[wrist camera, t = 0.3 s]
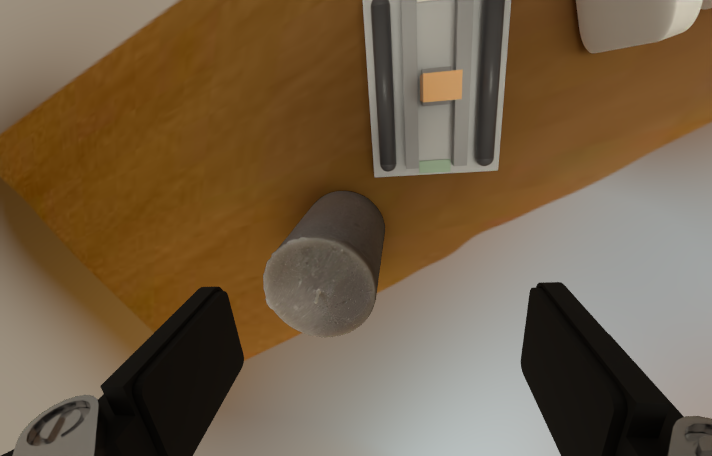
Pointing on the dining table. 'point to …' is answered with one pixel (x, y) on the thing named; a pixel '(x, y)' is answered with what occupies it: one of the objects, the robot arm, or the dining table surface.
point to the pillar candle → (328, 266)
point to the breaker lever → (440, 85)
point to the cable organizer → (634, 21)
